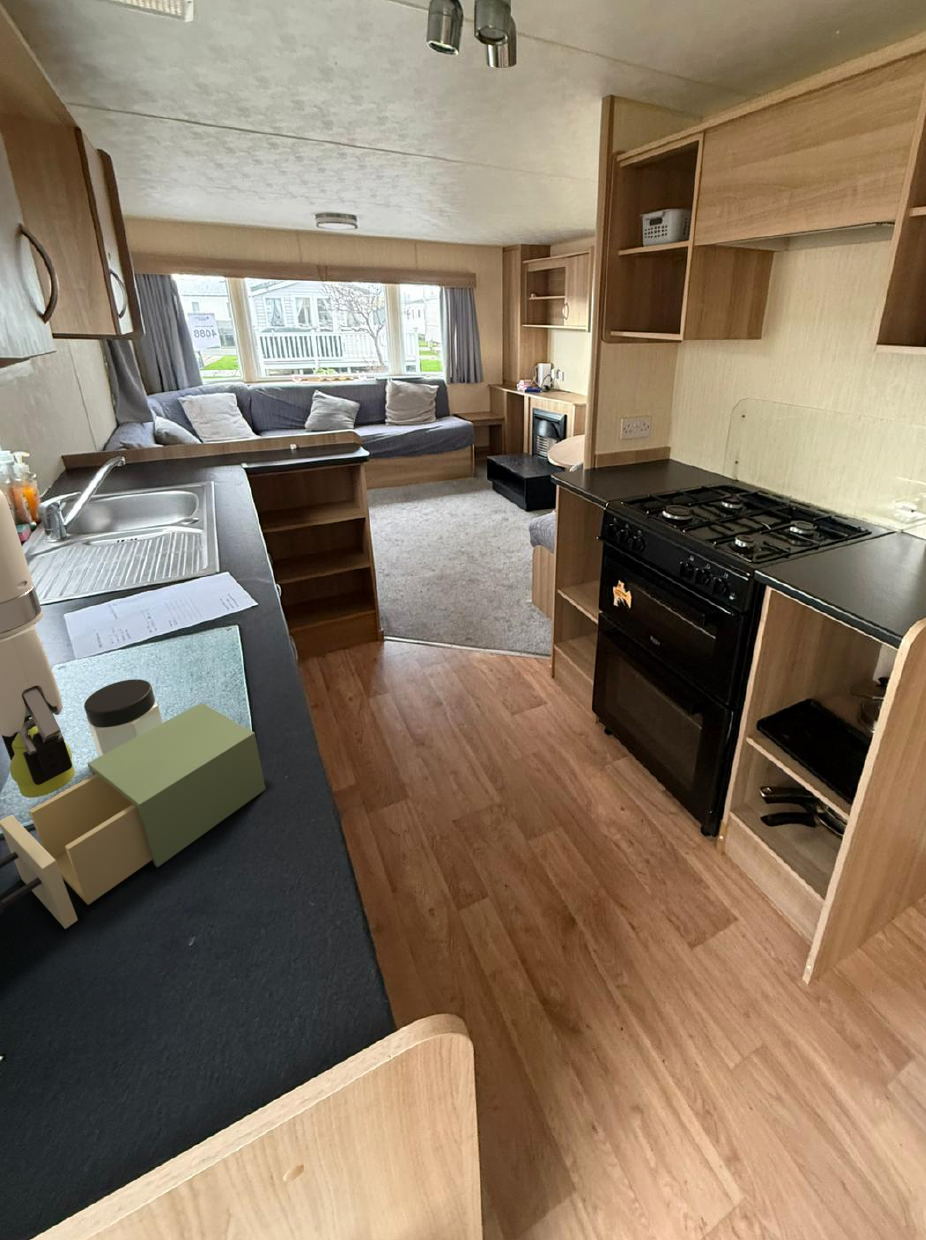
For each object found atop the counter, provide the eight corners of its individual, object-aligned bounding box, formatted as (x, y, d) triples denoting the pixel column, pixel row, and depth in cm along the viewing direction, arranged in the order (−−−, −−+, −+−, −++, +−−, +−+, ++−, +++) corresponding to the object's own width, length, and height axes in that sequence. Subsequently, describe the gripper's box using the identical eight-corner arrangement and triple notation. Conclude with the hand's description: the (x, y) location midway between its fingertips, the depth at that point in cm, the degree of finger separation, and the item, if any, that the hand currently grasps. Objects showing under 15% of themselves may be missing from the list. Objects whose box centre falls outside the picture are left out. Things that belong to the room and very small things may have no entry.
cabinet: (158, 872, 69) (139, 804, 65) (107, 827, 75) (86, 763, 71) (266, 794, 81) (254, 732, 77) (214, 760, 87) (201, 702, 83)
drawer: (9, 969, 58) (-19, 906, 55) (-33, 912, 63) (-60, 852, 60) (190, 839, 72) (176, 784, 69) (143, 802, 78) (128, 750, 75)
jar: (176, 737, 92) (161, 673, 87) (164, 773, 84) (146, 705, 80) (111, 750, 89) (92, 684, 85) (93, 787, 82) (70, 718, 77)
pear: (10, 786, 61) (-13, 728, 58) (65, 758, 65) (46, 702, 62) (29, 806, 58) (7, 746, 56) (85, 776, 62) (67, 718, 60)
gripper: (-94, 605, 56) (-33, 755, 62) (-31, 656, 47) (32, 824, 54) (3, 578, 62) (49, 718, 68) (74, 620, 53) (120, 775, 60)
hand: (41, 763), depth 61 cm, fingers closed on pear, 5 cm apart
